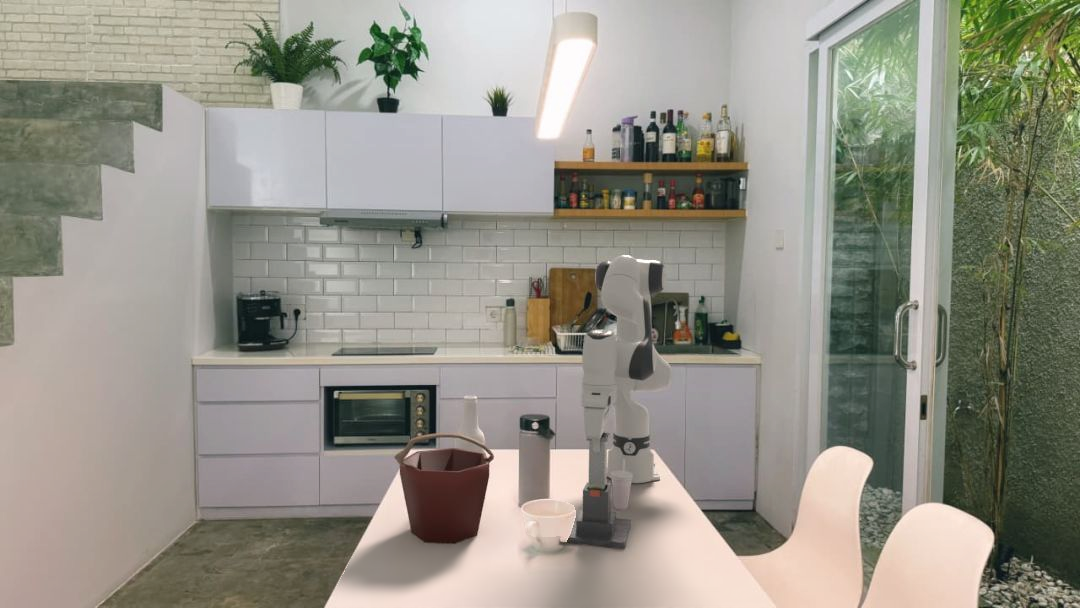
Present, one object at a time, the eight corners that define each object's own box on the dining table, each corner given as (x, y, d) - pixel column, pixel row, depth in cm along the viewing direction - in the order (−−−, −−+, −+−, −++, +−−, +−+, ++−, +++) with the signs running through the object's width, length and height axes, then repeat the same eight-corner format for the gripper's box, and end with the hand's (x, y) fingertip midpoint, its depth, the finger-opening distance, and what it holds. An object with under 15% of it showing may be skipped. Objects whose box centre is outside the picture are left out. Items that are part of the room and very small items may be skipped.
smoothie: (631, 512, 191) (632, 462, 190) (608, 510, 192) (609, 461, 192) (633, 504, 197) (634, 456, 197) (610, 502, 199) (611, 454, 198)
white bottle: (484, 503, 197) (485, 399, 195) (453, 503, 196) (454, 399, 194) (484, 493, 205) (485, 393, 204) (455, 493, 205) (455, 393, 203)
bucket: (386, 546, 165) (386, 443, 164) (408, 513, 187) (408, 423, 186) (487, 549, 164) (488, 446, 163) (497, 516, 186) (498, 425, 185)
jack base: (571, 519, 185) (572, 474, 184) (630, 525, 181) (631, 479, 181) (559, 542, 169) (560, 493, 169) (624, 549, 166) (625, 499, 165)
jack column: (588, 500, 178) (589, 431, 177) (608, 502, 177) (609, 433, 176) (585, 506, 173) (586, 436, 172) (605, 508, 172) (607, 438, 171)
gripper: (592, 386, 184) (591, 437, 185) (580, 401, 164) (579, 457, 165) (616, 388, 183) (615, 439, 184) (606, 402, 163) (605, 459, 164)
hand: (598, 448), depth 174 cm, fingers closed on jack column, 4 cm apart
